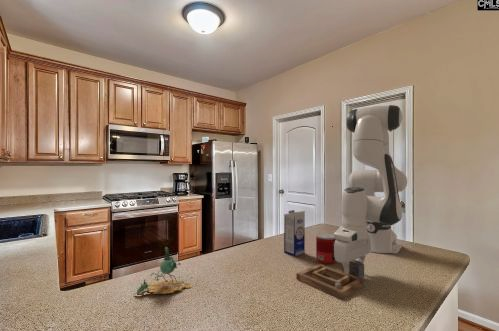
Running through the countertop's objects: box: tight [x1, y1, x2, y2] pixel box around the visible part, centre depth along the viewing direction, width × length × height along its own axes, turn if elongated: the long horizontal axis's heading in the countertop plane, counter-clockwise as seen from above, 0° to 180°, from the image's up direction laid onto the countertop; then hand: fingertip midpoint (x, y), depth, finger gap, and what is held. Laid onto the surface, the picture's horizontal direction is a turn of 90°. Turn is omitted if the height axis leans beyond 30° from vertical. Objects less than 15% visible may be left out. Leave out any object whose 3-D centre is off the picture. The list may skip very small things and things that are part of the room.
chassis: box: [295, 263, 365, 300], centre depth 86 cm, size 14×18×3 cm
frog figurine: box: [134, 246, 193, 295], centre depth 81 cm, size 10×18×15 cm, turn 105°
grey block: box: [342, 259, 365, 280], centre depth 91 cm, size 4×6×6 cm, turn 39°
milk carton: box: [283, 209, 306, 258], centre depth 115 cm, size 7×7×20 cm
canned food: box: [315, 232, 337, 265], centre depth 105 cm, size 8×8×11 cm
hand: (354, 269), depth 90 cm, fingers open, 8 cm apart
